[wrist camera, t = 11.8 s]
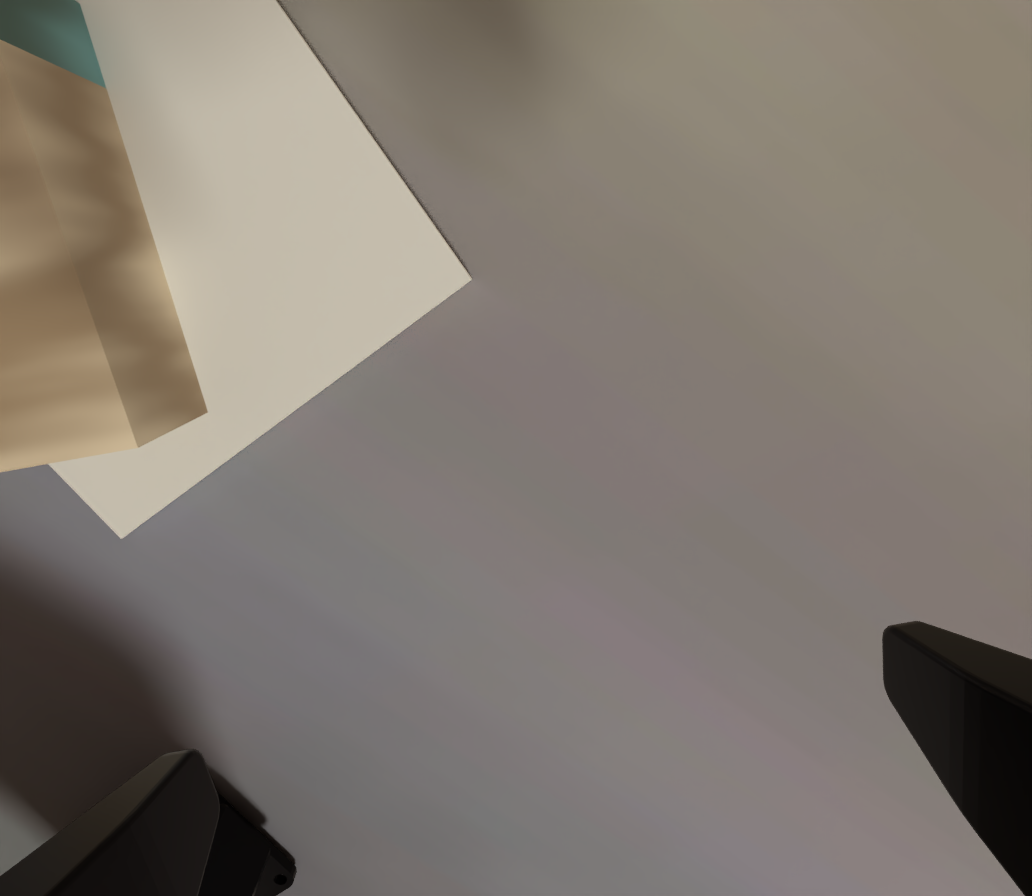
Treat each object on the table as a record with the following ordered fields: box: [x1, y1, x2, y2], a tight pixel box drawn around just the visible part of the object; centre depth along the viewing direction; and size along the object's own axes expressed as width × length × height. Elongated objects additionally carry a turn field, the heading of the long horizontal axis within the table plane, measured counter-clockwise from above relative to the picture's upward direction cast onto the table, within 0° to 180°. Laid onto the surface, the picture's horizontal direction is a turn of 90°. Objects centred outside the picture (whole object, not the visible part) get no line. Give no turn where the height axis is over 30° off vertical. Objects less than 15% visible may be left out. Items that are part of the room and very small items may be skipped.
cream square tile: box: [49, 0, 472, 539], centre depth 18 cm, size 14×15×1 cm
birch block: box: [0, 0, 208, 472], centre depth 16 cm, size 4×4×11 cm
